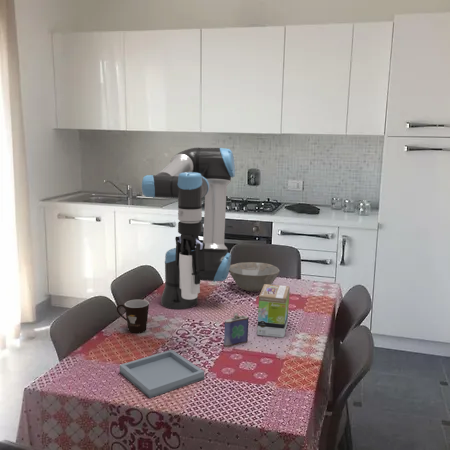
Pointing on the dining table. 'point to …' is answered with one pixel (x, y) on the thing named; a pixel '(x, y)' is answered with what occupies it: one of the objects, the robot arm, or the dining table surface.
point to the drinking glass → (186, 276)
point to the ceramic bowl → (253, 275)
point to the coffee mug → (136, 315)
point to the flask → (236, 330)
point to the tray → (161, 373)
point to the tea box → (273, 310)
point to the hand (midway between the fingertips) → (189, 290)
